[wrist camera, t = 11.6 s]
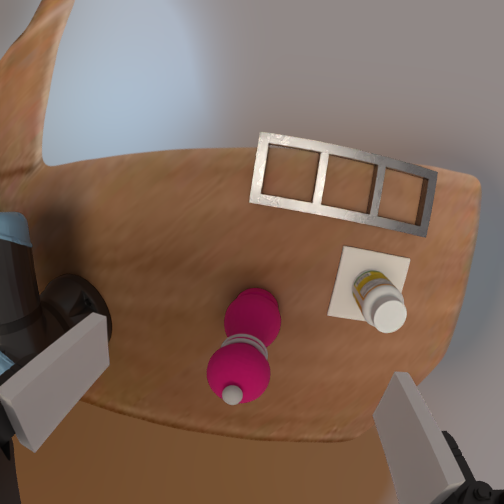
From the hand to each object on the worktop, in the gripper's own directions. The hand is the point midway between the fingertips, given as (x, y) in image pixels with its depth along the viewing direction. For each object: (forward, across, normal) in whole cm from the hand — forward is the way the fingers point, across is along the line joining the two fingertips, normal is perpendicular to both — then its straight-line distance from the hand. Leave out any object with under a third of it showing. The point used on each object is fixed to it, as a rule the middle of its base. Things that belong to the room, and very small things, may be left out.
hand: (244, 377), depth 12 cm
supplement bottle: (+28, +15, -3) cm, 32 cm away
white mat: (+28, +15, -3) cm, 32 cm away
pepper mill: (+29, 0, -9) cm, 30 cm away
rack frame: (+28, +9, +10) cm, 31 cm away
